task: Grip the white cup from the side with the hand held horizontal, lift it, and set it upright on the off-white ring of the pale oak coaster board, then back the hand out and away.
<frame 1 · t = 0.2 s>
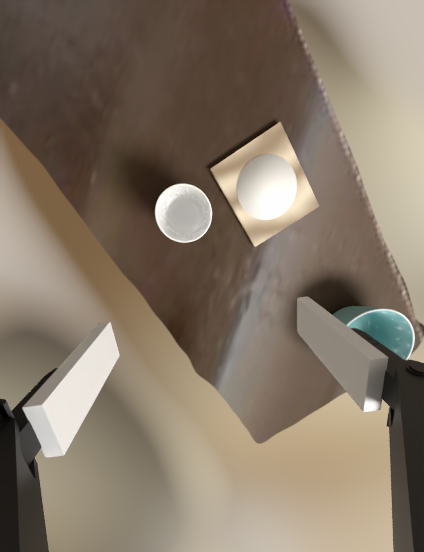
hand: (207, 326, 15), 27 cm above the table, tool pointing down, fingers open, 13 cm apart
coaster board: (265, 189, 39), on the table
bowl: (343, 327, 48), on the table
white cup: (186, 216, 39), on the table
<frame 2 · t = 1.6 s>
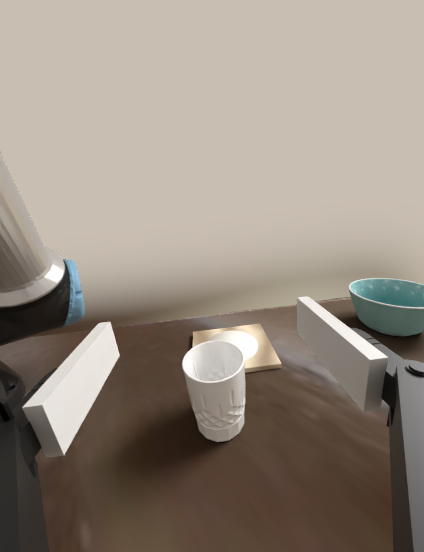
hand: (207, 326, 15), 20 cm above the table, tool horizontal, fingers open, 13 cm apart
coaster board: (231, 349, 44), on the table
bowl: (388, 326, 46), on the table
white cup: (220, 418, 30), on the table
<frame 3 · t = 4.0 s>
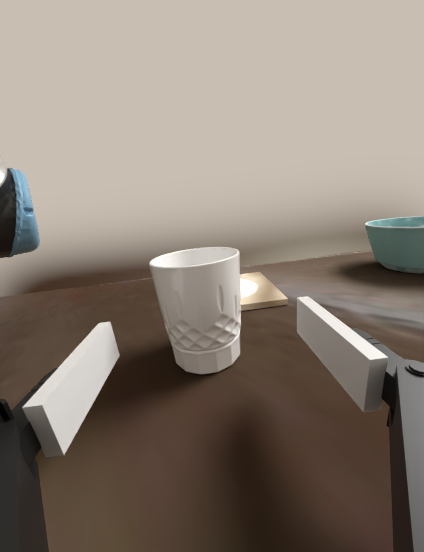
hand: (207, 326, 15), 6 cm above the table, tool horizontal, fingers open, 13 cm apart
coaster board: (224, 293, 36), on the table
bowl: (414, 267, 39), on the table
white cup: (207, 352, 22), on the table
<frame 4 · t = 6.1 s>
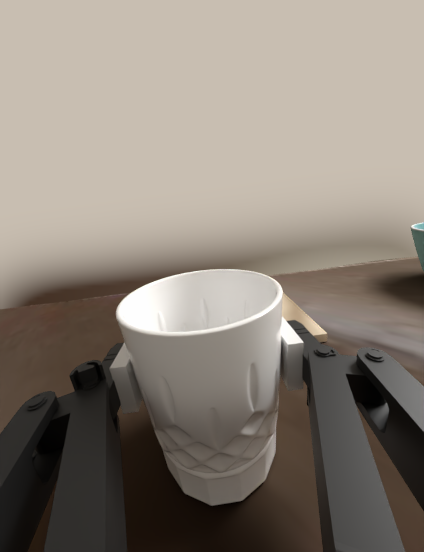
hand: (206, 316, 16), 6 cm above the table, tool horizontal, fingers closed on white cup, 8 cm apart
coaster board: (236, 318, 28), on the table
white cup: (220, 439, 14), on the table, touching gripper
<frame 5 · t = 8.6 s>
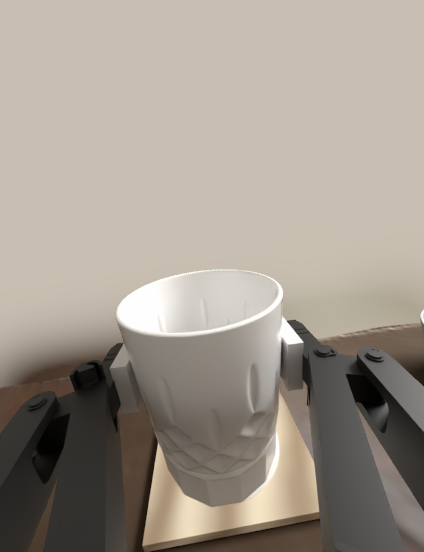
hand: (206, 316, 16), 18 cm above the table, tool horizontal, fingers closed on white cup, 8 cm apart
coaster board: (228, 444, 24), on the table
white cup: (220, 440, 13), point 12 cm above the table, touching gripper
when the fingers open (8 cm above the table, at t = 11.3 s): white cup drops 1 cm, resting on coaster board.
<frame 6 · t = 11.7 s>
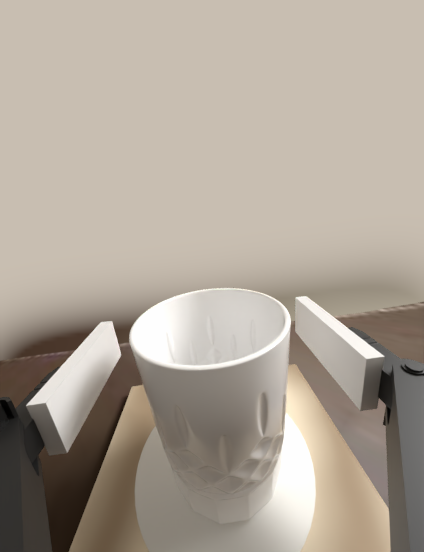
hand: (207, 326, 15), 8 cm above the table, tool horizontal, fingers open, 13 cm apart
coaster board: (223, 462, 14), on the table
white cup: (226, 455, 14), point 1 cm above the table, touching coaster board
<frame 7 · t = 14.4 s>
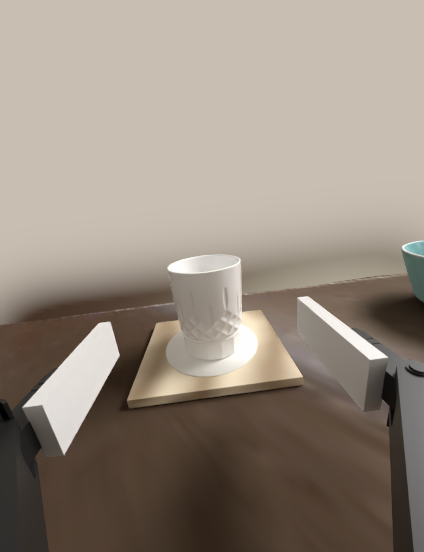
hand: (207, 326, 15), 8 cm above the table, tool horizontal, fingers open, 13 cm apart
coaster board: (212, 349, 26), on the table
white cup: (213, 344, 26), point 1 cm above the table, touching coaster board
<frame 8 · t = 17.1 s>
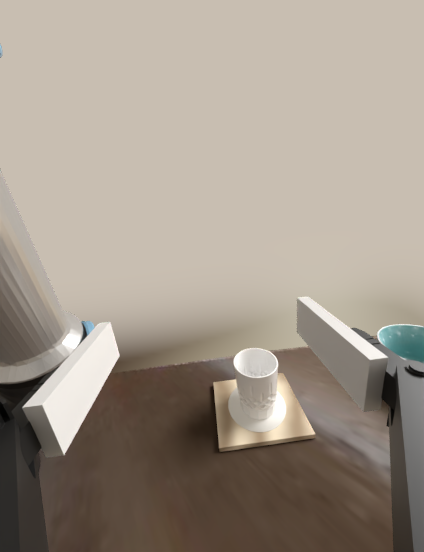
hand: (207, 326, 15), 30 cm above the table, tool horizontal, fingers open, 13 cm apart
coaster board: (256, 407, 42), on the table
bowl: (420, 379, 44), on the table
white cup: (257, 404, 41), point 1 cm above the table, touching coaster board
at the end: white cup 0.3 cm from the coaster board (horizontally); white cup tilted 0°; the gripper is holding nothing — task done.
